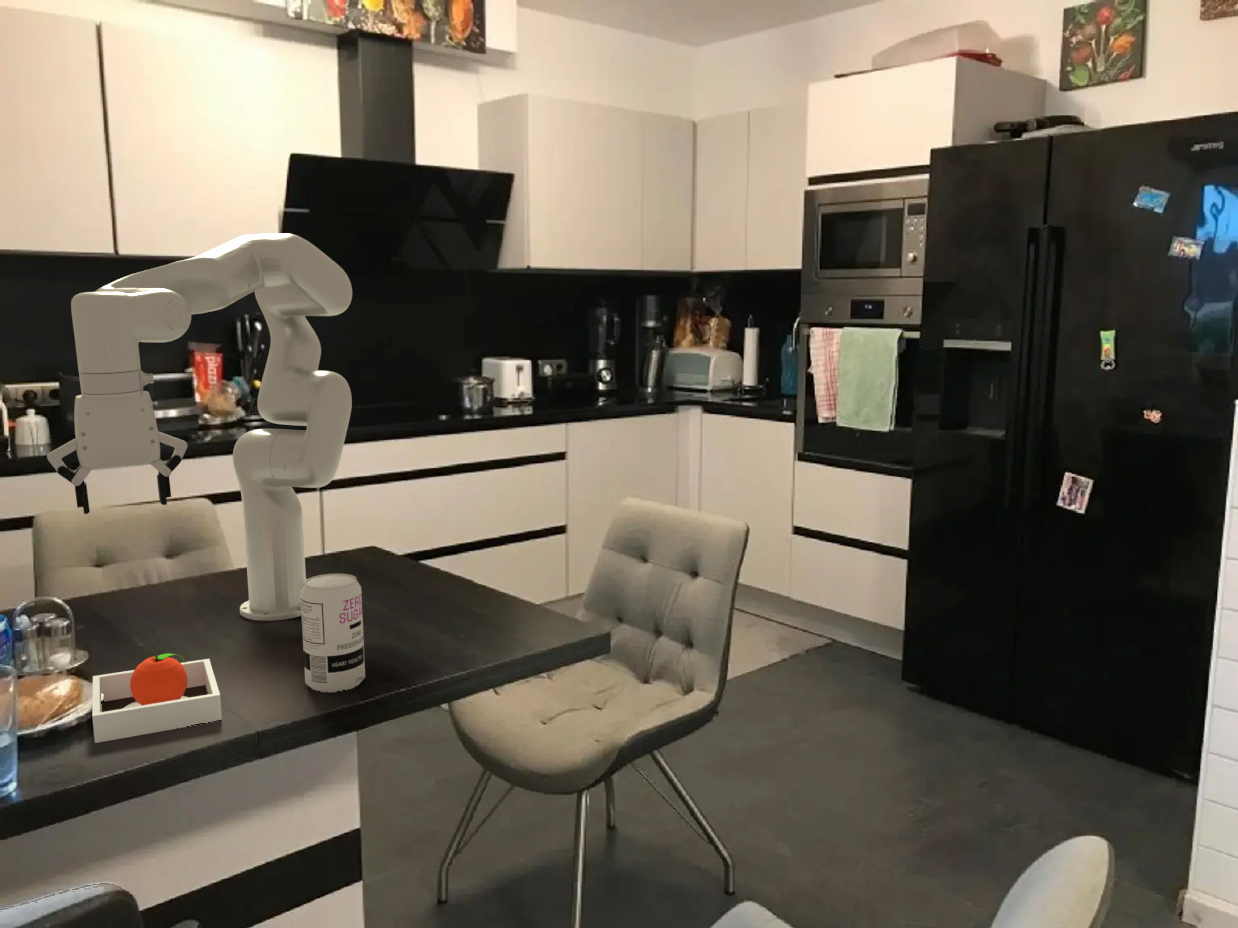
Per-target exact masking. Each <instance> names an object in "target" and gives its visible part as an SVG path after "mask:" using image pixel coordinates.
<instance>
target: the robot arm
mask: <svg viewBox="0 0 1238 928" xmlns="http://www.w3.org/2000/svg"><path fill="white" fill-rule="evenodd" d="M252 293H254V295H255V300H256V301H257V305H258V306H259V308H260V310H261V312H262V315H263V316H264V319H265V321H266V324H267V328H268V331H269V337H270V346H269V351H268V356H267V359H266V362H265V363H266V364H265V367H264V370H263V375H262V379H261V383H260V386H259V391H258V395H257V403H256V404H257V411H258V413H259V415H260V417H261V418H262V419H264V420H265V421H267V422H268V423H272V424H277V425H287V426H299V427H303V426H304V427H306V428H305V429H306V430H303V429H302V430H300V429H289V428H288V429H287V428H258V429H257V428H256V429H252V430H249V431H247V432H245V433H243V434H242V435H241V436H240V437H238V439H237V440H236V442H235V444H234V446H233V447H234V448H233V452H232V459H233V460H232V463H233V467H234V472H235V475H236V479H237V482H238V485H239V491H240V494H241V502H242V515H243V526H244V527H243V529H244V540H245V541H244V543H245V544H244V545H245V559H246V571H247V573H246V574H247V588H248V589H247V590H248V600H247V601H245V602H243V603H241V605H240V606H239V615H240V616H242V618H245V619H248V620H252V621H262V622H264V621H265V622H266V621H267V622H272V621H283V620H290V619H295V618H299V617H302V616H301V598H300V594H301V590H302V588H303V586H304V583H305V581H306V580H307V579H308V578H307V576H306V559H305V557H306V556H305V542H304V541H305V539H304V538H305V537H304V523H303V522H304V521H303V520H304V519H303V518H304V517H303V510H302V509H303V508H302V505H301V502H300V499H299V496H298V495H297V493H296V492H295V489H294V488H307V489H308V488H309V489H310V488H311V489H312V488H313V489H314V488H315V489H316V488H317V489H318V488H322V487H325V486H327V485H329V484H330V483H331V482H332V481H333V479H334V478H335V476H336V474H337V471H338V468H339V466H340V462H341V459H342V458H341V457H342V454H343V449H344V445H345V441H346V437H347V431H348V428H349V423H350V419H351V413H352V407H353V406H352V405H353V403H352V401H353V400H352V399H353V397H352V392H351V388H350V386H349V385H350V384H349V383H348V380H347V379H345V377H343V375H341V374H339V373H337V372H335V371H330V370H319V366H320V360H321V356H322V347H321V342H320V340H319V338H318V335H317V334H316V331H315V330H314V328H313V327H312V325H311V324H310V322H309V321H308V320H307V318H306V317H333V316H338V315H340V314H342V313H344V312H345V311H346V310H348V308H349V306H350V305H351V303H352V299H353V288H352V282H351V280H350V278H349V276H348V274H347V273H346V272H345V270H344V269H343V268H342V267H341V266H340V265H339V264H338V263H336V261H334V260H332V258H331V257H329V256H328V255H326V253H324V252H323V251H321V249H319V248H318V247H317V246H315V245H314V244H313V243H311V242H310V241H309V240H308V239H307V240H306V239H305V238H303V237H301V236H299V235H296V234H293V233H259V234H257V233H255V234H254V233H253V234H244V235H240V236H238V237H235V238H233V239H230V240H228V241H226V242H224V243H222V244H219V245H218V246H215V247H213V248H211V249H208V250H207V251H205V252H203V253H200V254H198V255H196V256H194V257H190V258H186V259H183V260H176V261H174V262H171V263H168V264H164V265H160V266H158V267H154V268H150V269H145V270H143V271H139V272H136V273H132V274H129V275H126V276H123V277H120V278H119V279H116V280H114V281H112V282H110V283H107V284H105V285H103V286H101V287H99V288H98V289H96V290H95V291H87V292H86V291H85V292H79V293H78V294H75V295H74V296H73V297H72V298H71V301H70V302H71V303H70V307H71V308H70V309H71V311H70V312H71V317H72V327H73V333H74V334H73V335H74V341H75V351H76V359H77V360H76V361H77V368H78V375H79V376H78V377H79V385H80V392H81V394H79V395H76V396H75V398H74V415H73V416H74V419H73V420H74V435H75V438H73V439H71V440H69V441H68V442H65V443H64V444H62V445H60V446H59V447H57V448H55V449H53V450H51V451H50V452H48V453H47V455H46V458H47V460H48V462H49V463H50V465H51V466H52V467H53V468H54V469H55V471H56V472H57V474H58V475H59V476H61V477H62V478H64V479H65V480H66V481H68V482H69V483H71V484H72V485H73V486H74V490H75V499H76V508H78V509H79V508H83V509H82V510H83V514H84V515H88V514H89V513H91V512H90V501H89V495H88V494H89V493H88V487H87V485H88V484H87V482H86V481H85V480H86V478H87V477H88V475H89V474H90V473H91V471H100V470H113V469H123V468H132V467H133V468H134V467H142V466H149V465H151V466H152V467H153V468H155V469H156V470H157V471H158V474H156V479H157V481H156V482H157V491H158V499H159V502H160V505H163V506H167V505H168V502H167V501H168V500H167V498H172V492H171V491H172V490H171V481H170V476H171V475H172V472H174V470H175V469H176V468H177V467H178V466H179V464H181V462H182V461H183V460H182V459H183V458H184V455H185V453H186V452H187V451H186V450H187V448H188V443H187V442H186V441H185V440H183V439H181V438H178V437H174V436H172V435H170V434H167V433H164V432H162V431H159V429H158V425H157V419H156V415H155V411H154V407H153V405H154V404H153V402H152V398H151V394H150V392H149V391H147V390H144V387H145V386H147V385H149V384H154V383H155V381H154V373H147V372H144V371H142V368H141V359H140V350H139V343H140V342H141V343H168V342H173V341H175V340H177V339H179V338H181V337H182V336H183V335H184V334H186V332H187V331H188V329H189V327H190V325H191V321H192V315H197V314H198V315H200V314H205V313H209V312H214V311H219V310H222V309H224V308H227V307H228V306H230V305H232V304H233V303H235V302H237V301H239V300H240V299H242V298H244V297H246V296H248V295H249V294H252ZM160 443H161V444H164V445H166V446H169V447H173V448H174V450H173V453H172V455H171V456H170V457H169V458H168V459H167V460H166V461H163V460H162V459H161V444H160ZM75 451H76V455H77V459H78V462H79V466H78V467H77V468H76V470H75V471H74V470H73V469H71V468H70V467H68V466H67V465H66V464H65V463H64V461H63V460H62V459H63V458H65V457H66V456H68V455H69V454H71V453H73V452H75Z"/></svg>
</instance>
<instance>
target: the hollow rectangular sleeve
mask: <svg viewBox="0 0 1238 928" xmlns="http://www.w3.org/2000/svg"><path fill="white" fill-rule="evenodd" d="M180 663H181V664H182V665H183V667H184V669H185V670H186V674H187V678H188V681H187V687H186V689H190V688H196V687H201V686H202V687H203V686H204V687H205V688H206V694H204V695H198V696H191V697H188V696H184V695H183V696H182V697H181V698H180V699H178V700H172V701H166V702H160V703H154V704H148V705H141V704H139V703H138V702H137V701H136V700H135V701H133V702H132V703H129V704H127V705H126V706H124V707H123V708H120V709H112V710H108V711H103V703H102V704H101V693H103V694H104V702H108V701H109V702H110V701H115V700H116V701H117V700H121V699H127V698H134V697H133V696H132V693H131V688H130V679H131V677H132V674H133V672H134V670H135V669H132V670H124V671H120V672H112V673H105V674H100V675H99V674H98V675H93V676H92V713H91V714H92V726H93V737H94V738H93V739H94V744H97V743H98V744H99V743H104V742H109V741H114V740H116V741H117V740H120V739H126V738H131V737H136V736H143V735H149V734H154V733H159V732H166V731H172V730H176V729H177V728H178V729H182V728H188V727H187V726H189V727H192V726H191V725H194V724H199V723H206V724H209V723H208V722H211V723H213V722H212V721H216V720H221V719H222V720H223V718H222V717H223V716H222V701H221V692H220V690H219V686H218V684H217V680H216V677H215V673H214V671H213V667H212V663H211V659H210V658H205V659H197V660H193V661H192V660H191V661H185V662H184V661H183V662H180ZM185 663H186V664H185ZM194 726H195V725H194Z"/></svg>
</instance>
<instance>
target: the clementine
mask: <svg viewBox="0 0 1238 928" xmlns="http://www.w3.org/2000/svg"><path fill="white" fill-rule="evenodd" d="M172 656H178V657H179V658H180V659H181V660H182V661H183V662H186V661H185V659H184V657H183V656H182V655H180V654H174V653H162V654H159V655H155V656H151V657H148V658H146V659H144V660H143V661H142V662H141V663H139V664H138V665H137V666H136V668H135V669H133V670H134V672H133V674H132V677H131V679H130V688H131V693H132V696H133V697H132V698H133V699H134V701H135V702H136V701H137V702H138V703H139V704H141V705H148V704H154V703H160V702H166V701H172V700H178V699H180V698H181V697H182V696H184V694H185V692H186V689H187V688H186V687H187V681H188V678H187V674H186V670H185V669H184V667H183V665H182V664H181V663H182V662H180V661H178V660H177V659H176V658H173V657H172ZM185 664H186V663H185Z"/></svg>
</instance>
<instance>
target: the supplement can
mask: <svg viewBox="0 0 1238 928" xmlns="http://www.w3.org/2000/svg"><path fill="white" fill-rule="evenodd" d="M306 579H307V580H306V581H305V583H304V586H303V588H302V590H301V594H300V598H301V616H300V617H301V629H302V630H301V631H302V632H301V633H302V647H303V651H302V652H303V666H304V682H305V684H306V685H307V686H308V687H309V688H310V689H312V690H313V691H315V690H316V692H318V691H320V692H319V693H327V692H328V693H338V692H337V691H340V692H343V691H342V690H346V691H349V690H352V689H354V688H356V687H357V686H358V687H359V685H360V684H361V683H362V682H363V680H364V679H365V678H366V668H365V667H366V664H365V663H366V662H365V645H364V643H365V642H364V639H365V638H364V622H363V621H364V619H363V618H364V617H363V599H362V598H363V597H362V586H361V584H360V583H359V582H358V580H357V577H356V576H355V575H353V574H348V573H327V574H319V575H315V576H312V577H311V576H310V577H309V578H306ZM355 686H356V687H355ZM348 689H349V690H348Z"/></svg>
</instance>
